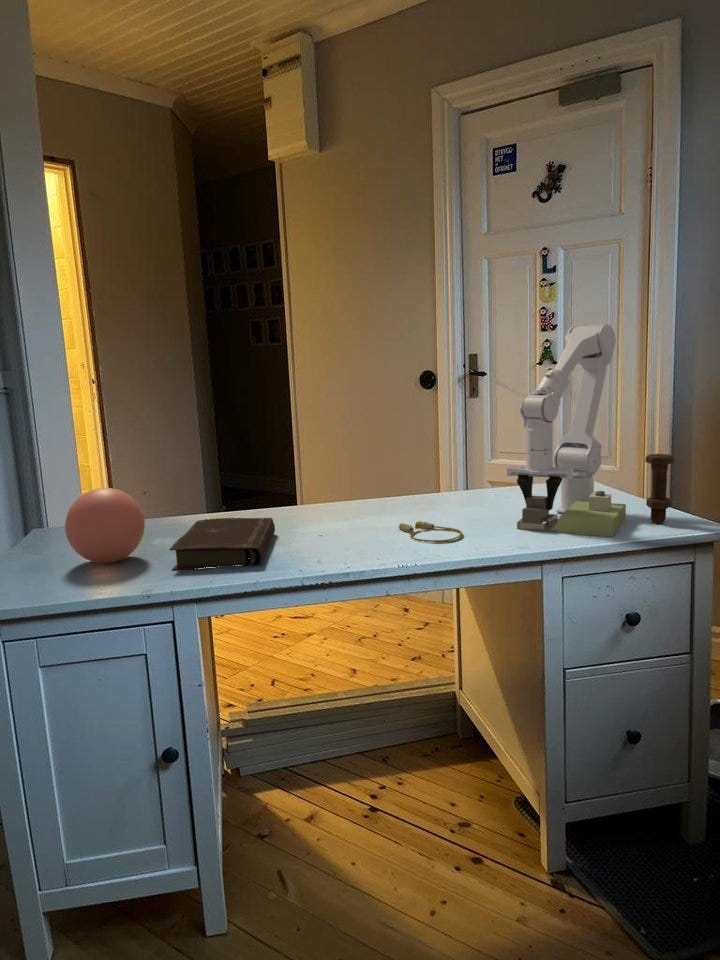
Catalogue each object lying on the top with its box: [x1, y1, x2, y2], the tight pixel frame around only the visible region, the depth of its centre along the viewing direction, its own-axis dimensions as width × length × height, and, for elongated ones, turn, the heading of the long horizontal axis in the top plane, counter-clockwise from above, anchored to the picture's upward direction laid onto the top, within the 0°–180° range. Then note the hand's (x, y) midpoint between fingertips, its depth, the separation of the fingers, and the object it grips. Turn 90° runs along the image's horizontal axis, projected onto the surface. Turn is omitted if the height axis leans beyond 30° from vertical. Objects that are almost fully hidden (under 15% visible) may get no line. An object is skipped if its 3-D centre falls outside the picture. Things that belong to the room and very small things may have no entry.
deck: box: [558, 490, 627, 538], centre depth 160 cm, size 16×11×7 cm
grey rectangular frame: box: [516, 513, 560, 533], centre depth 163 cm, size 10×9×2 cm
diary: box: [169, 517, 276, 572], centre depth 154 cm, size 19×25×5 cm
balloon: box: [64, 487, 146, 564], centre depth 151 cm, size 15×20×15 cm
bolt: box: [645, 453, 675, 525], centre depth 159 cm, size 6×5×15 cm
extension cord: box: [398, 520, 463, 543], centre depth 160 cm, size 12×16×2 cm
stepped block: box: [521, 495, 550, 524], centre depth 161 cm, size 7×4×5 cm, turn 151°
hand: (539, 508), depth 164 cm, fingers closed on stepped block, 4 cm apart
